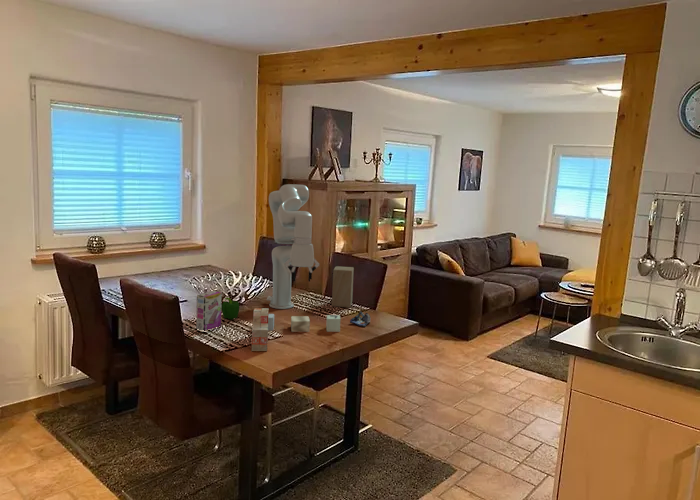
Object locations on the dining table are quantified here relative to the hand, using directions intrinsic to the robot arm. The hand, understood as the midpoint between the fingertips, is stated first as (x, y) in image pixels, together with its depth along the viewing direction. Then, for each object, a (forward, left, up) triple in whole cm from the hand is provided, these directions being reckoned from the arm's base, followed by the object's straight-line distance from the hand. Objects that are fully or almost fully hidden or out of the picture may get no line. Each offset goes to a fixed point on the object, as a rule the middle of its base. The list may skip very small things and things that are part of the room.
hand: (301, 280), depth 242 cm
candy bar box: (-33, -23, -23) cm, 46 cm away
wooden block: (-3, +49, -23) cm, 54 cm away
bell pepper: (-36, -4, -23) cm, 43 cm away
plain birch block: (0, 0, -23) cm, 23 cm away
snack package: (+20, +24, -23) cm, 39 cm away
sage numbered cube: (+13, +8, -23) cm, 27 cm away
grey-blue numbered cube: (-13, -7, -23) cm, 27 cm away
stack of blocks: (-4, -26, -23) cm, 35 cm away
